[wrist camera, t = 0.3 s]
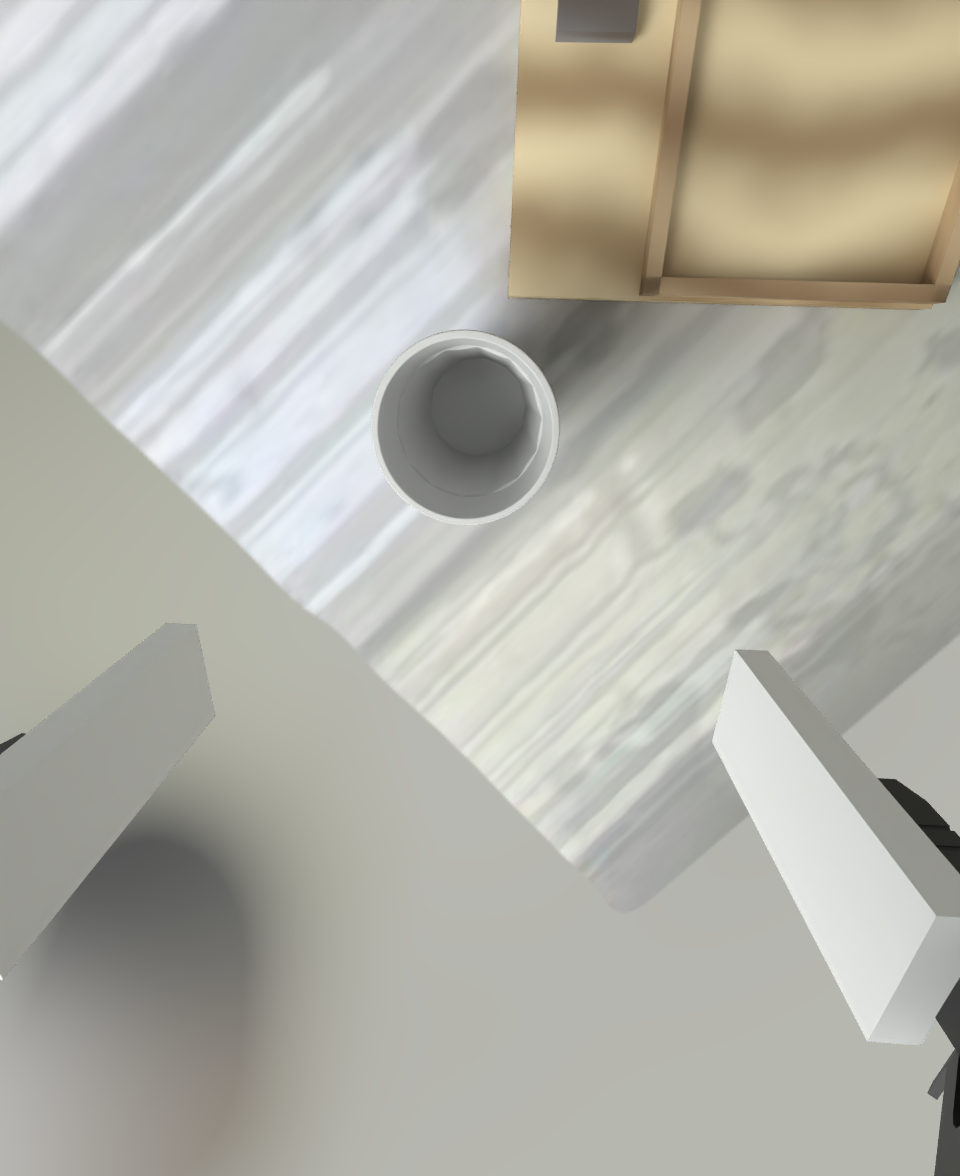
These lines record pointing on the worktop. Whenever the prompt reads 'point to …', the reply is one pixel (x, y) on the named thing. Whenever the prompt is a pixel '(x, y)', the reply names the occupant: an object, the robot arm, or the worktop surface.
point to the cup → (465, 427)
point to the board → (737, 152)
